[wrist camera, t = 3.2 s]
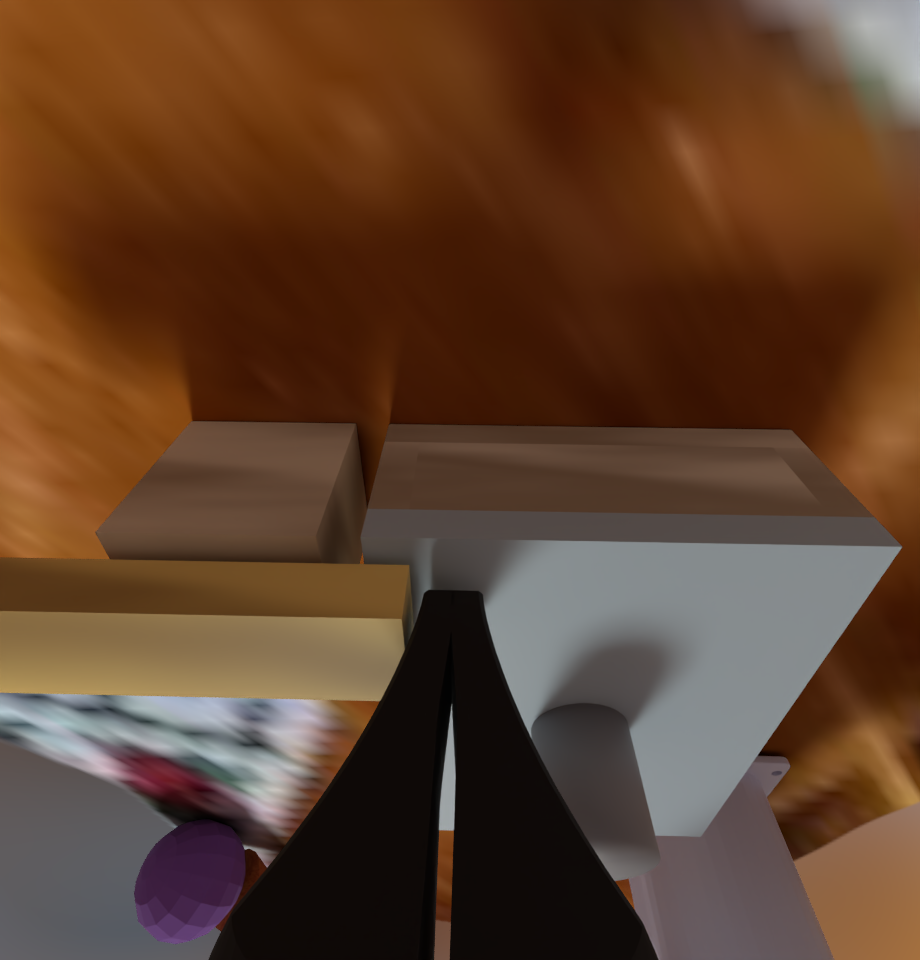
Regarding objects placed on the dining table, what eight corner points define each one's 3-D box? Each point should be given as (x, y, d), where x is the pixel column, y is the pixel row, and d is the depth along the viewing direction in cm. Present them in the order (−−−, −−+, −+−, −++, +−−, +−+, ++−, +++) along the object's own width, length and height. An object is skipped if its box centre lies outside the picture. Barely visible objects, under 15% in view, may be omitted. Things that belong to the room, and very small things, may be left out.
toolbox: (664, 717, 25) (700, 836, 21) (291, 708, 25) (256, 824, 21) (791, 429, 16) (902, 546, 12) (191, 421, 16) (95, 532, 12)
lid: (684, 783, 23) (736, 951, 18) (408, 777, 23) (392, 941, 18) (849, 491, 13) (1040, 692, 9) (374, 483, 13) (324, 677, 9)
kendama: (339, 969, 40) (93, 929, 30) (360, 874, 44) (150, 808, 34) (397, 980, 37) (147, 940, 27) (413, 877, 42) (201, 807, 31)
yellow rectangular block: (415, 647, 13) (409, 701, 12) (33, 639, 14) (-11, 692, 12) (409, 564, 12) (401, 618, 10) (-31, 557, 12) (-88, 609, 11)
